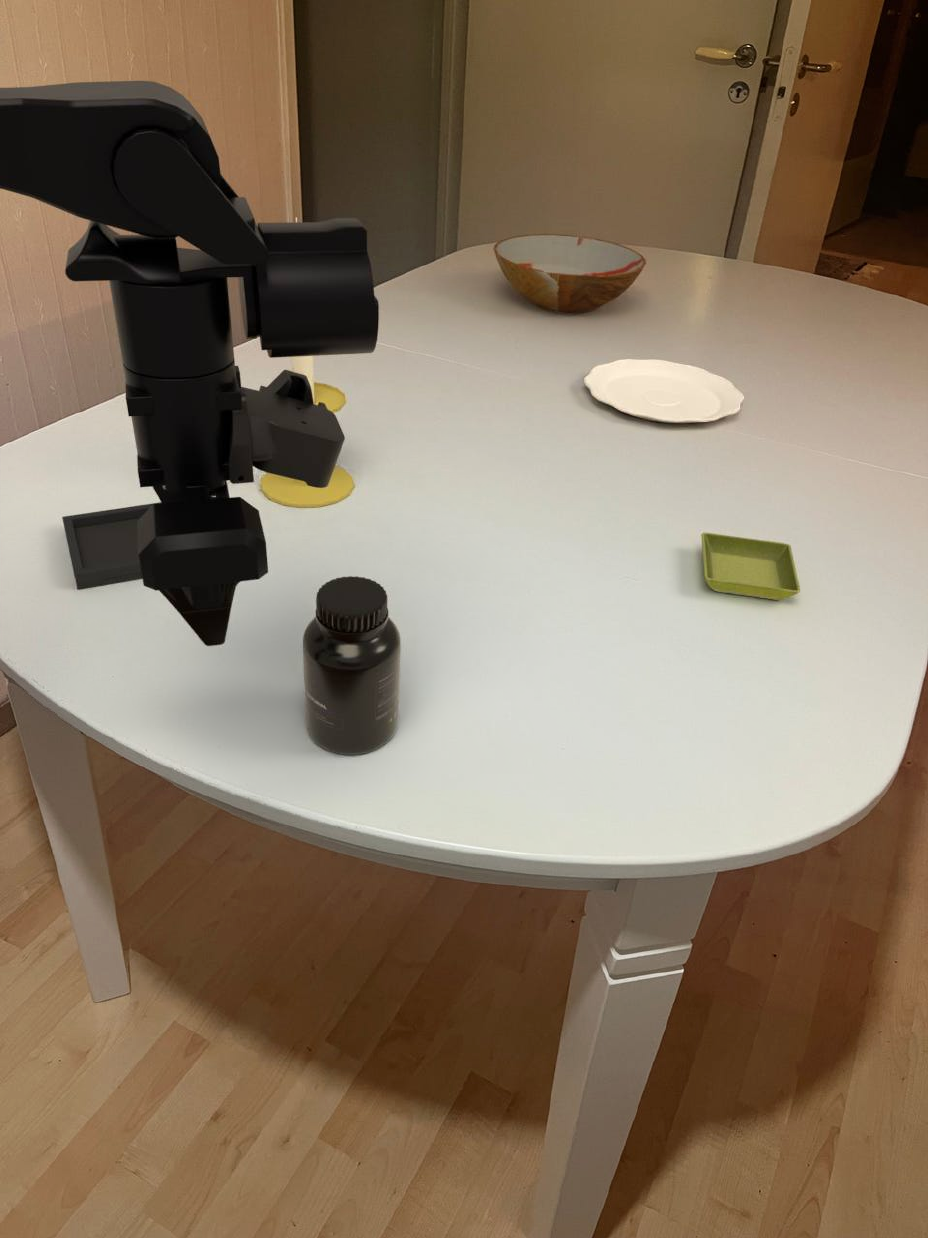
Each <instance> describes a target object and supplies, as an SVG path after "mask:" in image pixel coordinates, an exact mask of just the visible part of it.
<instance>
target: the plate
mask: <svg viewBox="0 0 928 1238" xmlns="http://www.w3.org/2000/svg"><path fill="white" fill-rule="evenodd" d="M583 383H584V385H585V386H586V387H587V388H588V389H589V391H590V395H591V396H592V397H594V398H595V399H596V400H597V401H599V402H601V403H603V404H607V405H609V406H611V407H612V408H615V409H616V410H617V411H620V412H622V413H625V414H627V415H630V416H631V417H632V416H633V417H635V418H640V419H643V420H647V421H652V422H660V423H665V424H693V423H706V422H707V423H708V422H714V421H717V420H720V419H721V418H723V417H727V416H732V415H735V414H737V413H738V412H739V411H740V410H741V404H742V403H743V401H745V397H744V394H743V393H742V392H741V391H740V390H738V388H736V387H735V385H734V384H733V383H732V382H731V381H730V380H728V379H727V378H725V377H724V376H723V377H722V376H720V375H717V374H714V373H712V372H709V371H707V370H705V369H703V368H701V367H698V366H694V365H690V364H682V363H676V362H674V361H673V362H672V361H668V360H664V359H663V360H662V359H653V358H652V359H631V358H629V359H617V360H615V361H612V362H609V363H604V364H599V365H596V366H593V367H591V369H590V372H589V374H587V375H586V376H585V377H584V378H583Z"/></svg>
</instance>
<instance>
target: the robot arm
mask: <svg viewBox="0 0 928 1238" xmlns="http://www.w3.org/2000/svg"><path fill="white" fill-rule="evenodd" d="M0 190H5V191H8V192H12V193H15V194H18V195H22V196H26V197H28V198H32V199H35V200H37V201H40V202H42V203H44V204H46V205H49V206H50V207H53V208H56V209H58V210H60V211H63V212H66V213H68V214H70V215H72V216H75V217H77V218H81V219H84V220H87V221H89V223H88V226H87V228H86V231H85V232H84V234H83V235H82V237H81V238H79V240H78V241H77V242H76V243H75V244H73V245H72V246H71V247H70V248H69V249H68V250H67V251H68V252H67V255H66V257H67V258H66V263H65V269H64V274H65V276H66V278H67V279H68V280H70V281H72V282H105V281H107V282H109V287H110V294H111V300H112V305H113V312H114V317H115V324H116V331H117V337H118V343H119V350H120V354H121V361H122V369H123V372H124V379H125V402H126V409H127V414H128V415H127V416H128V417H131V422H132V428H133V435H134V442H135V448H136V453H137V454H136V459H137V461H136V462H137V465H136V466H137V476H138V482H139V488H150V487H152V489H153V490H154V492H155V494H156V496H157V498H158V499H159V501H160V502H161V504H153V505H152V506H151V507H150V508H149V509H148V510H147V512H146V513H145V514H144V515H143V516H142V517H141V518H140V519H139V520H138V555H139V561H140V567H141V572H142V578H141V579H142V583H143V586H144V587H146V588H149V589H151V590H154V591H158V592H160V593H161V595H162V596H163V597H164V598H165V599H166V600H167V601H168V602H169V604H171V605H172V607H173V608H174V609H175V610H176V611H177V613H178V614H179V615H180V617H182V618H183V620H184V621H185V622H186V623H187V625H188V626H189V627H190V628H191V630H192V631H193V632H194V633H195V635H196V636H197V637H198V639H200V641H201V642H202V644H204V646H206V647H215V646H221V645H224V644H225V642H226V638H227V633H228V628H229V622H230V617H231V611H232V608H233V607H232V606H233V601H234V596H235V593H236V587H237V586H238V584H239V583H241V582H247V581H257V580H260V579H261V578H263V577H264V576H265V575H267V574H268V573H269V563H268V551H267V540H266V537H265V532H264V527H263V524H262V520H261V515H260V511H259V509H258V508H256V507H255V506H254V505H252V504H251V503H249V502H248V501H246V500H245V499H244V498H243V497H241V496H233V497H230V492H229V491H230V490H229V485H228V481H229V482H230V483H231V484H232V485H238V484H239V485H240V484H250V483H251V484H252V483H255V477H254V476H255V475H254V468H255V469H257V470H258V471H261V472H264V473H271V474H275V475H279V476H283V477H288V478H292V479H296V480H300V481H304V482H306V484H307V485H308V486H311V487H316V488H324V487H327V486H328V484H329V481H330V479H331V476H332V473H333V470H334V468H335V466H337V462H338V459H339V457H340V453H341V451H342V449H343V446H344V443H345V440H346V437H345V433H344V432H343V430H342V427H341V424H340V423H339V420H338V418H337V416H336V414H335V413H333V412H331V411H330V410H328V409H327V407H326V405H325V403H322V402H319V403H318V405H315V404H314V402H313V396H312V390H311V386H310V384H309V381H308V379H307V376H305V375H302V374H299V373H296V372H292V370H289V369H283V370H282V371H281V372H280V373H279V375H277V376H276V377H275V378H274V379H272V381H271V382H270V383H269V384H268V385H267V386H265V385H260V386H259V390H258V389H254V388H248V387H244V386H242V379H241V371H240V368H239V365H236V361H235V351H234V339H233V327H232V317H231V305H230V295H229V283H228V278H238V288H239V300H240V308H241V309H240V310H241V317H242V318H241V319H242V323H243V324H242V325H243V330H244V335H245V338H246V340H253V339H254V340H255V339H258V337H259V342H260V349H261V351H266V352H267V356H268V357H269V358H270V359H274V358H291V357H298V356H313V357H315V356H317V357H318V356H335V355H338V356H340V355H341V356H342V355H361V354H362V355H363V354H372V353H374V352H375V349H376V346H377V343H378V336H379V325H380V324H379V321H380V312H379V310H380V307H379V306H380V305H379V300H378V299H377V297H376V295H375V289H374V287H375V285H374V278H373V270H372V265H371V264H372V263H371V261H370V256H369V252H368V229H366V227H365V226H364V225H363V224H362V222H361V221H360V220H359V219H358V218H357V217H336V218H331V219H327V220H323V221H316V222H315V221H311V222H310V221H308V222H307V221H306V222H304V221H303V222H302V221H301V222H299V221H297V222H296V221H295V222H294V221H293V222H292V221H291V222H290V221H289V222H256V219H255V217H254V214H253V212H252V209H251V207H250V204H249V203H248V201H247V198H246V197H244V196H239V195H238V194H237V193H236V191H235V190H234V189H233V187H232V186H231V185H230V184H229V182H228V181H227V180H226V178H225V177H224V176H223V175H222V173H221V166H220V157H219V155H218V151H217V150H216V147H215V145H214V143H213V140H212V138H211V135H210V133H209V130H208V128H207V126H206V124H205V121H204V118H203V117H202V115H200V113H199V112H198V111H197V109H196V108H195V106H193V104H192V103H191V102H190V100H188V98H186V97H185V96H184V95H183V94H181V93H180V92H178V91H177V90H175V89H174V88H172V87H171V86H167V85H165V84H163V83H162V84H161V83H159V82H156V81H152V80H151V81H150V80H118V81H117V80H115V81H111V80H110V81H78V82H66V83H56V84H47V85H37V86H13V87H0ZM111 227H112V228H116V229H119V230H123V231H125V232H130V233H133V234H120V233H118V232H117V231H115V230H114V229H112V228H111ZM178 237H179V238H181V240H184V241H185V242H186V243H189V244H190V245H192V246H193V247H195V248H197V249H194V248H184V247H178V244H177V238H178Z"/></svg>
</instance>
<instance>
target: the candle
mask: <svg viewBox="0 0 928 1238" xmlns="http://www.w3.org/2000/svg"><path fill="white" fill-rule="evenodd" d="M295 222H298V216H297V217H295ZM290 359H291V371H292V372H296V373H299V374H302V375H305V376H307V379H308V381H309V384H310V386H311V390H312V396H313V402H314V404H315V405H318V403H319V402H322V403H325V405H326V407H327V409H328V410H330V411H331V412H333V413H334V414H335V413H337V412H339V411H342V409H343V407H344V406H345V405H346V404H347V398H346V394H345V393H344V392H343V391H342V390H341V389H339V388H338V387H335V386H333V385H330V384H327V383H323V382H317V381H315V378H314V377H315V375H314V373H315V372H314V356H298V357H290ZM259 481H260V492H261V493H262V494H263V495H264V496H265V497H266V498H267V499H268V500H270V501H273V502H275V503H277V504H279V505H281V506H286V507H292V508H293V507H294V508H300V509H301V508H303V509H304V508H321V507H325V506H330V505H334V504H337V503H339V502H340V501H343V500H344V499H346V498H348V497H349V496H350V495H351V494H352V492H353V490H354V489H355V483H354V477H353V476H352V474H350V473H349V472H348V471H347V470H345V469H344V468H342V467H339V466H337V465H335V468H334V470H333V473H332V476H331V479H330V481H329V484H328V486H327V487H324V488H316V487H311V486H308V485H307V484H306V482H304V481H300V480H296V479H292V478H288V477H283V476H279V475H275V474H271V473H267V472H265V474H264V475H263V476H262V477H261V479H260V480H259Z"/></svg>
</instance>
